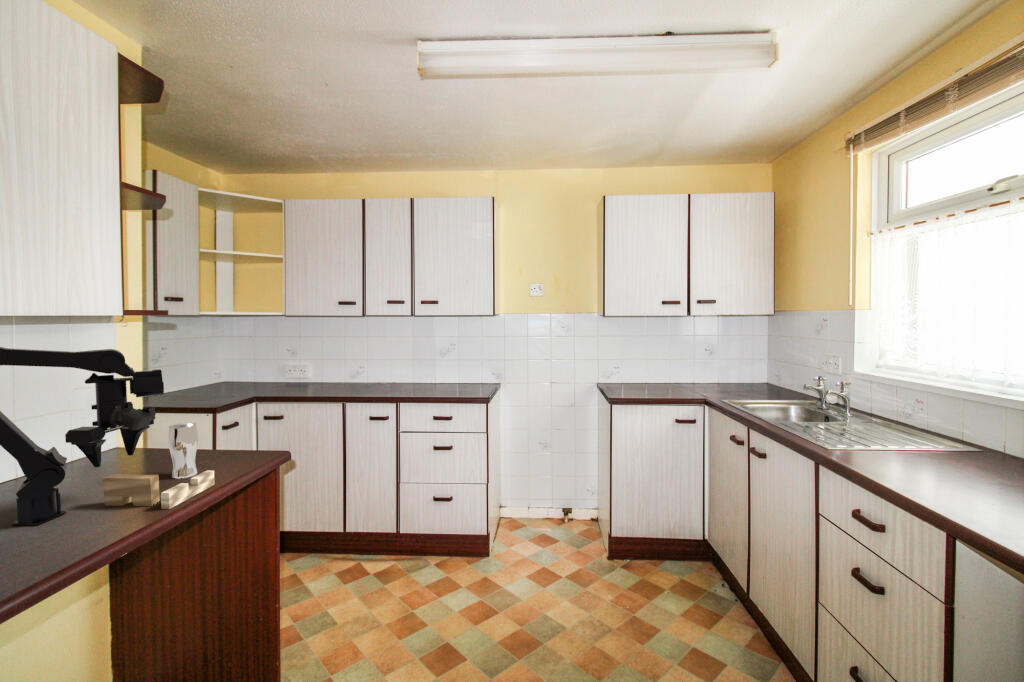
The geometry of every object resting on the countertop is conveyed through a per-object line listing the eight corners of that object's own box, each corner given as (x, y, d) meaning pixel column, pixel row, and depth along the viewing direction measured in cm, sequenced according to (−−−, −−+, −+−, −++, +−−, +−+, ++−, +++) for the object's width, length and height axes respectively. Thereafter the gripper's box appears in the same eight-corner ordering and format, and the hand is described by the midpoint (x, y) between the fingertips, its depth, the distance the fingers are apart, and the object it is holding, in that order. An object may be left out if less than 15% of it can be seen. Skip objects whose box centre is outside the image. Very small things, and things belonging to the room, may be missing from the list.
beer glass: (194, 477, 130) (191, 427, 129) (165, 480, 128) (163, 429, 127) (202, 470, 136) (200, 421, 135) (175, 472, 134) (173, 423, 133)
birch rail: (169, 509, 109) (168, 493, 108) (161, 508, 109) (160, 492, 108) (214, 484, 125) (214, 470, 124) (207, 484, 125) (207, 470, 124)
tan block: (151, 505, 111) (150, 478, 110) (104, 505, 111) (103, 478, 110) (159, 501, 113) (158, 474, 113) (113, 501, 113) (112, 474, 113)
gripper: (109, 407, 101) (112, 474, 102) (172, 393, 120) (174, 450, 121) (61, 407, 101) (64, 474, 102) (131, 393, 120) (134, 449, 121)
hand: (114, 460), depth 112 cm, fingers open, 9 cm apart
